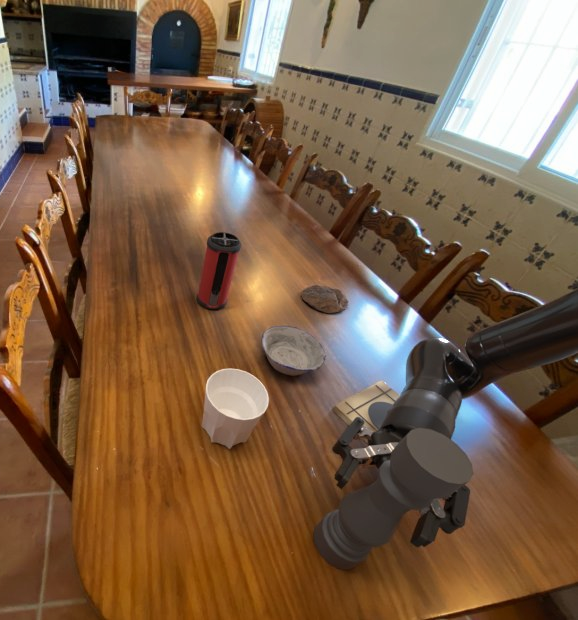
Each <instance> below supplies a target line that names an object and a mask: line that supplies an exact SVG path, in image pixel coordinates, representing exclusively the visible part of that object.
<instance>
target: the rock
mask: <svg viewBox="0 0 578 620" xmlns="http://www.w3.org/2000/svg"><path fill="white" fill-rule="evenodd" d="M300 295H301V298H302V300H303V301H304V302H305V303H307V304H308V305H309V306H310V307H312V308H313V309H315V310H317V311H319V312H321V313H324V314H334V313H338V312H342V311H344V310H345V309H346V308H347V306H348V305H349V299H347V298H346V295H345V294H344V293H343V291H342V290H340V289H338V288H333V287H329V286H326V285H325V286H324V285H317V284H316V285H315V284H314V285H311V286H307V287H306V288H304V289H303V290H302V292H301V294H300Z"/></svg>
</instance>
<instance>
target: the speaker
mask: <svg viewBox="0 0 578 620" xmlns="http://www.w3.org/2000/svg"><path fill="white" fill-rule="evenodd" d="M241 249H242V242H241V241H240V240H239V238H238V237H237V236H236V235H235V234H232V233H230V232H226V231H225V232H223V231H219V232H214V233H213V234H211V235H210V236H208V238H207V239H206V249H205V254H204V261H203V266H202V270H201V277H200V281H199V288H198V293H197V295H196V301H197V303H198V304H199V305H200V306H202V307H203V308H205V309H210V310H220V309H223V308H224V307H225V306H227V303H228V297H229V292H230V289H231V284H232V282H233V277H234V274H235V269H236V265H237V261H238V257H239V254H240V251H241Z"/></svg>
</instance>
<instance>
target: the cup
mask: <svg viewBox="0 0 578 620" xmlns="http://www.w3.org/2000/svg"><path fill="white" fill-rule="evenodd" d="M204 391H205V392H204V401H203V403H204V404H203V413H202V418H201V426H200V427H201V428H202V429H204V430H205V432H206V433H207V435H208V436H209V438H210V443H211V444H212V443H217V444H220V445H223V446H225V447H226V448H227V449H229V450H231V449H232V448H233V446H236V445H238V444H240V443H247V441H248V440H249V437H250V436H251V435H252V433H253V432H254V429H255V428H256V426H257V425H258V423H259V422H260V420H261V419H262V417H263V415H264V414H265V412H266V411H267V409H268V407H269V403H270V397H269V392H268V390H267V388H266V387H265V385H264V384H263V383H262V382H261V380H260V379H259V378H257V377H256V376H255V375H253V374H252V373H250V372H248V371H245V370H242V369H239V368H231V367H230V368H222V369H219V370H216V371H215V372H213V373H212V374H210V376H209V377H208V378H207V381H206V385H205V390H204Z"/></svg>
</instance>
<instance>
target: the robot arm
mask: <svg viewBox="0 0 578 620" xmlns="http://www.w3.org/2000/svg"><path fill="white" fill-rule="evenodd" d="M464 349H465V352H466V354H465V353H463V351H461V350H460V349H459V348H458V347H457V346H456V345H455V344H454V343H452V342H451V341H449V340H448V339H446V338H444V337H443V338H442V337H436V336H435V337H428V338H424V339H423V340H420V341H419V342H417V343H416V344H415V345H414V346H413V347H412V348H411V349H410V351H409V353H408V354H407V355H408V356H407V358H406V361H405V386H404V387H403V389H402V391H401V393H400V394H399V395H400V396H399V398H398V399H397V400H396V401H395V402H394V403H393V405H392V407H391V408H390V409H389V410H388V412H387V415H386V417H385V419H384V421H383V422H382V424H381V426H380V428H379V430H378V431H376V432H372V431H371V430H370V429H368V428H367V427H365V426H364V420H363V419H362V418H360V417H356V418H355V419H354V420H353V422H352V423H351V424H350V425H348V427H346V429H345V430H344V432H342V434H341V435H340V436H339V438H338V439H337V440H336V442H335V444H334V445H333V446H332V447H331V451H332V452H333V453H334V454H335V455H337V456H338V455H339V456H340V458H341V459H342V462H341V464H340V465H339V467H338V468H337V470H336V472H335V474H334V480H335V481H337V482H336V484H335V486H336V487H337V488H338V489H340V490H343V489H344V488H345V487H346V486H347V484H348V483H349V482H350V480H351V479H352V476H353V475H354V473H355V471H356V469H357V468H360V467H361V468H364V469H366V468H373V467H375V468H377V470H379V467H380V466H381V465H382V464H383V463H384V462H385V461H389V460H390V457H391V451H392V450H393V449H394V448H395V447H396V445H397V444H398V443H399V442H400V441H401V440H402V439H403V438H404V437H405V436H406V435H407V434H408V433H409V432H410V431H411V430H413V429H417V428H424V429H431V430H433V431H436V432H438V433H441V434H443V435H445V436H446V437H448V438H449V439H450V440H452V438H453V436H454V433H455V429H456V420H457V418H458V415H459V412H460V410H461V406H462V403H463V400H466V399H469V398H471V397H473V396H474V395H476V394H477V393H479V392H481V391H482V390H483V389H485V388H486V387H488V386H489V385H492V384H493V383H496V382H497V381H499V380H501V379H503V378H505V377H507V376H510V375H513V374H516V373H520V372H524V371H527V370H531V369H536V368H538V367H542V366H547V365H549V364H552V363H556V362H558V361H561V360H565V359H567V358H569V357H572V356H574V355H577V354H578V287H577V288H575V289H573V290H571V291H569V292H567V293H565V294H563V295H561V296H559V297H556V298H555V299H552V300H550V301H547V302H546V303H543V304H542V305H538V306H537V307H534V308H532V309H529V310H526V311H524V312H522V313H519V314H517V315H514V316H512V317H509V318H506V319H504V320H501V321H499V322H496V323H494V324H491V325H488V326H486V327H484V328H481V329H479V330H477V331H475V332H473V333H471V334H470V335H468V336H467V338H466V339H465V341H464ZM362 438H366V439H368V441H367V442H368V444H367V446H366V447H361V448H353V447H352V446H351V445H350V443H351V442H352V440H354V441H357V440H363V439H362ZM470 495H471V490H470V487H468V486H467V485H466V484H465V485H464V486H462V487H461V488H459V489H458V490H457V491H455V492H454V493H452V494H451V495H450V496H448V497H445V498H442V499H441V500H442V501H444V503H443V506H442V504H441V502H440V499H437V498H436V499H433V501H432V503H431V504H430V506H429V507H428V508H425V509H422V510H417V511H418V513H419V516H420V517H418V519H417V521H416V524H415V527H414V529H413V532H412V535H411V538H410V541H409V543H410V544H411V545H413V546H415V548H417V549H418V548H420V547H421V546H422V547H423V548H425V547H427V546H429V545H430V544H432V543H433V542H435V541H436V538H437V534H438V532H439V529H441V531H442V532H443V533H445V534H447V535H451V534H452V533H455V531H456V530H458V529H460V528H463V527H464V526H465V525H466V519H467V514H468V507H469V502H470Z"/></svg>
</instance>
